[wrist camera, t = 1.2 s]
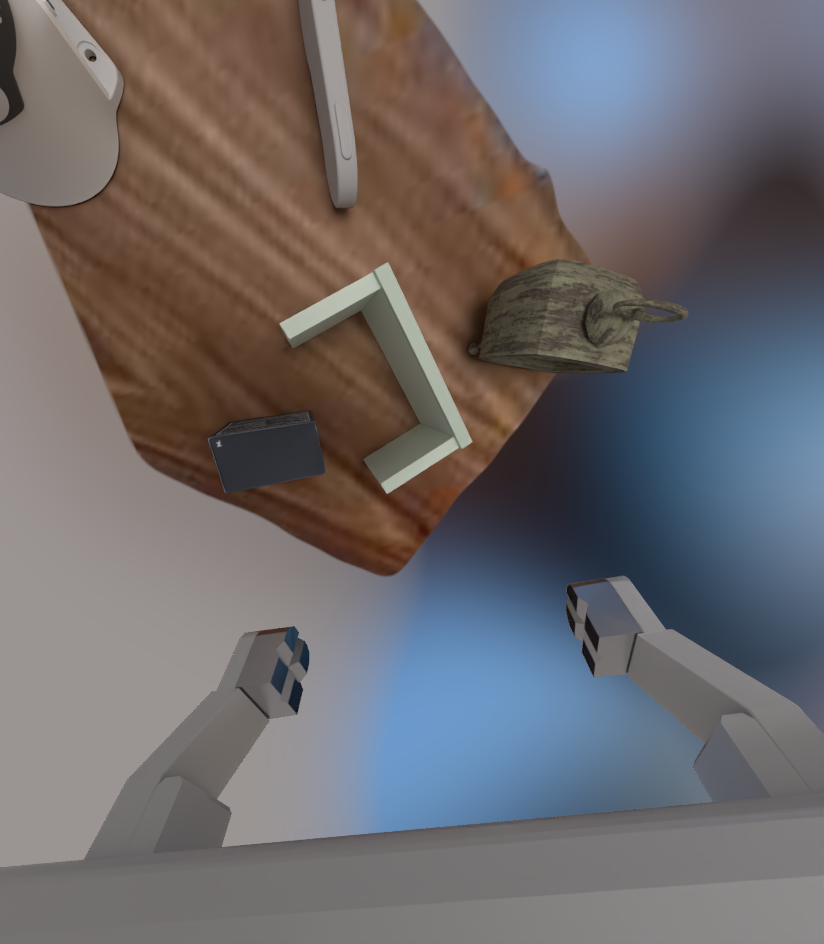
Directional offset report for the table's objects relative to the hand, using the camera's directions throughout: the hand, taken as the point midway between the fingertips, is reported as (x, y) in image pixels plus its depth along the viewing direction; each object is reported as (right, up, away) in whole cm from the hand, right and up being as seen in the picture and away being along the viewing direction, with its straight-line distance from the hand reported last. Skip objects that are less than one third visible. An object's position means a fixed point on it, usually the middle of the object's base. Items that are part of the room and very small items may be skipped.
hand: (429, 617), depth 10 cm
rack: (-7, +16, +36) cm, 40 cm away
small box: (-19, +9, +35) cm, 40 cm away
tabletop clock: (+13, +25, +40) cm, 49 cm away
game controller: (-10, +44, +27) cm, 53 cm away
